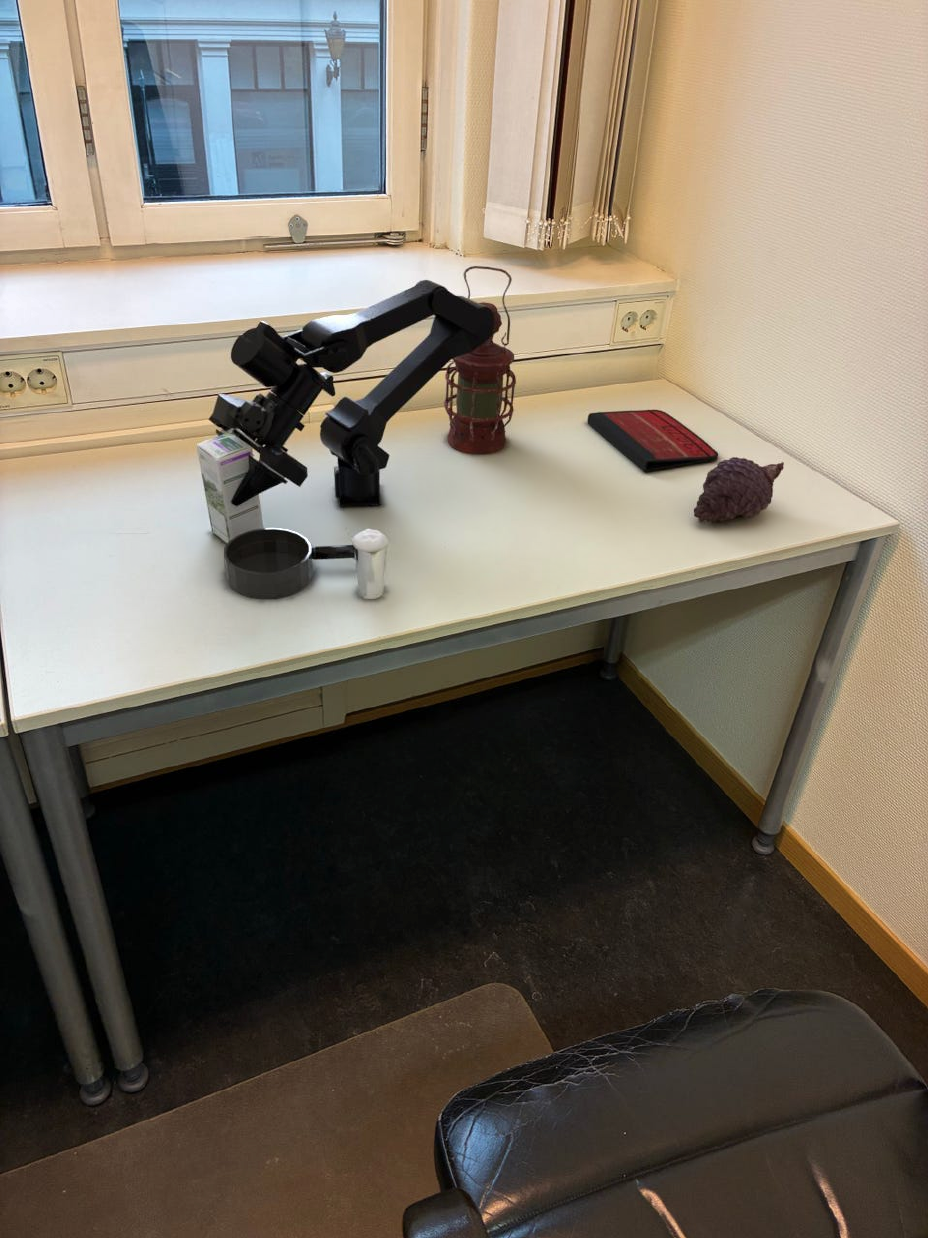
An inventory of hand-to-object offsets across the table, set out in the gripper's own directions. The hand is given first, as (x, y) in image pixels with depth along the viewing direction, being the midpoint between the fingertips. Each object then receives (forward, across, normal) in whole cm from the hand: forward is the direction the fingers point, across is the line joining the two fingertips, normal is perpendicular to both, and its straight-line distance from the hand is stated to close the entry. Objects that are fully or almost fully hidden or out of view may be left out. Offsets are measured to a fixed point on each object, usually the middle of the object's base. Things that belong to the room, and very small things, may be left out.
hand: (223, 495), depth 129 cm
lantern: (-30, -6, +42) cm, 52 cm away
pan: (+5, +12, +5) cm, 14 cm away
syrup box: (+4, 0, +6) cm, 7 cm away
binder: (-49, +12, +61) cm, 79 cm away
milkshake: (-1, +23, +11) cm, 26 cm away
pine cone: (-43, +37, +54) cm, 78 cm away
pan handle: (-3, +17, +10) cm, 20 cm away
